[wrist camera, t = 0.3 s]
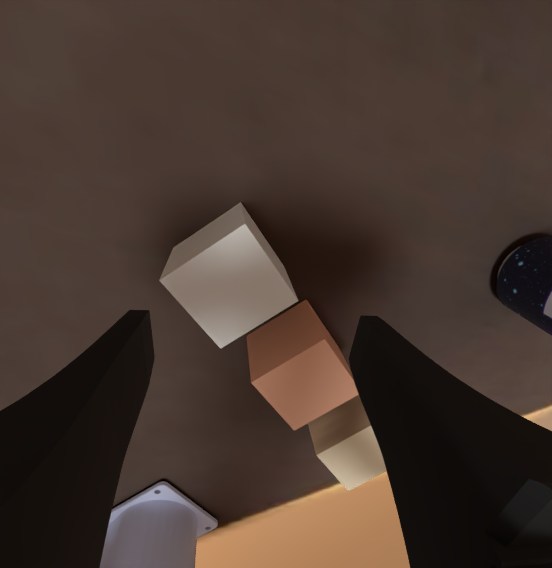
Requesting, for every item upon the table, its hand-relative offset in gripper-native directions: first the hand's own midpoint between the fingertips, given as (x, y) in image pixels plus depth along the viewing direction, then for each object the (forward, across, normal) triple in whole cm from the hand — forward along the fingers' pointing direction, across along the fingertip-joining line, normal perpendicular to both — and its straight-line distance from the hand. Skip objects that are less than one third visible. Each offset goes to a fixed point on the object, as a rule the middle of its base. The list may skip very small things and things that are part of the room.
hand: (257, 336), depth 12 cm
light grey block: (+10, +1, +2) cm, 11 cm away
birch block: (+9, -9, +15) cm, 20 cm away
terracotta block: (+10, -4, +9) cm, 14 cm away
